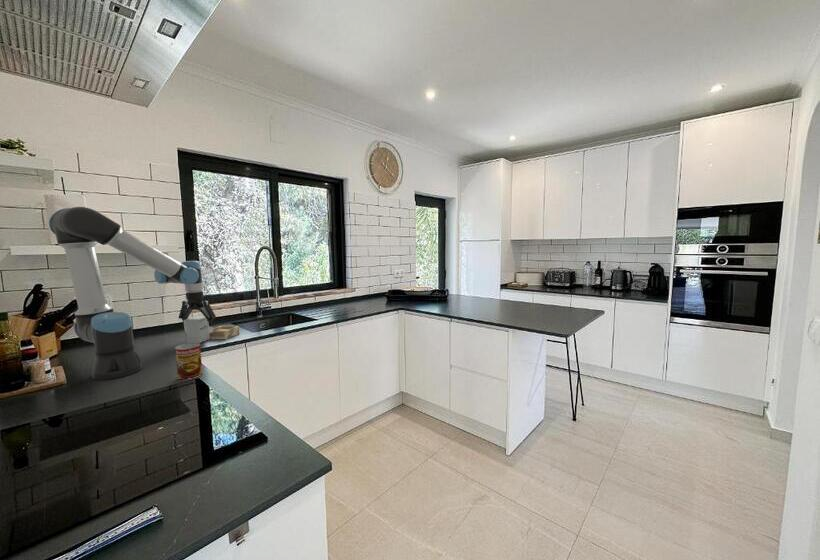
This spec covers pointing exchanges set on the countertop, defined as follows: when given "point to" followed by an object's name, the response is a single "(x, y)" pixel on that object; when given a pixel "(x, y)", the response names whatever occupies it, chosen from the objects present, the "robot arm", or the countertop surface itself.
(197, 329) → the supplement box
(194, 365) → the canned food
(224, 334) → the display pedestal
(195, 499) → the countertop surface
